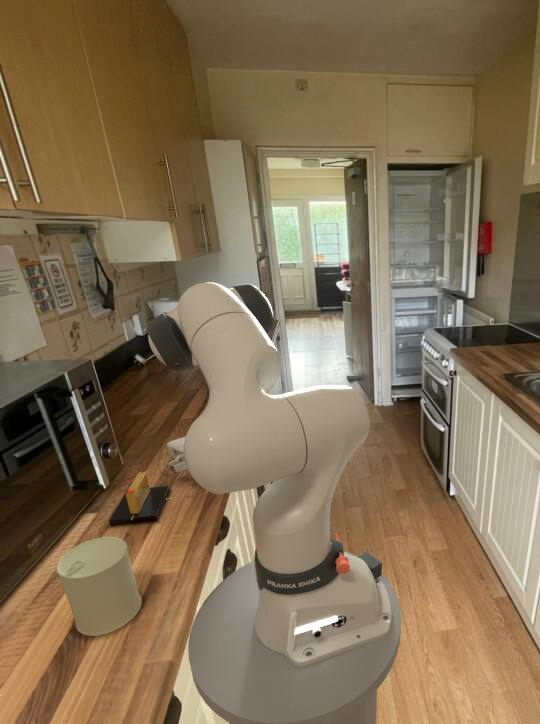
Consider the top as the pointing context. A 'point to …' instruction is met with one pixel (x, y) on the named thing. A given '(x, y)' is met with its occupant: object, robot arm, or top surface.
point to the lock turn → (138, 493)
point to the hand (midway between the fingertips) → (172, 467)
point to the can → (99, 585)
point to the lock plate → (147, 512)
